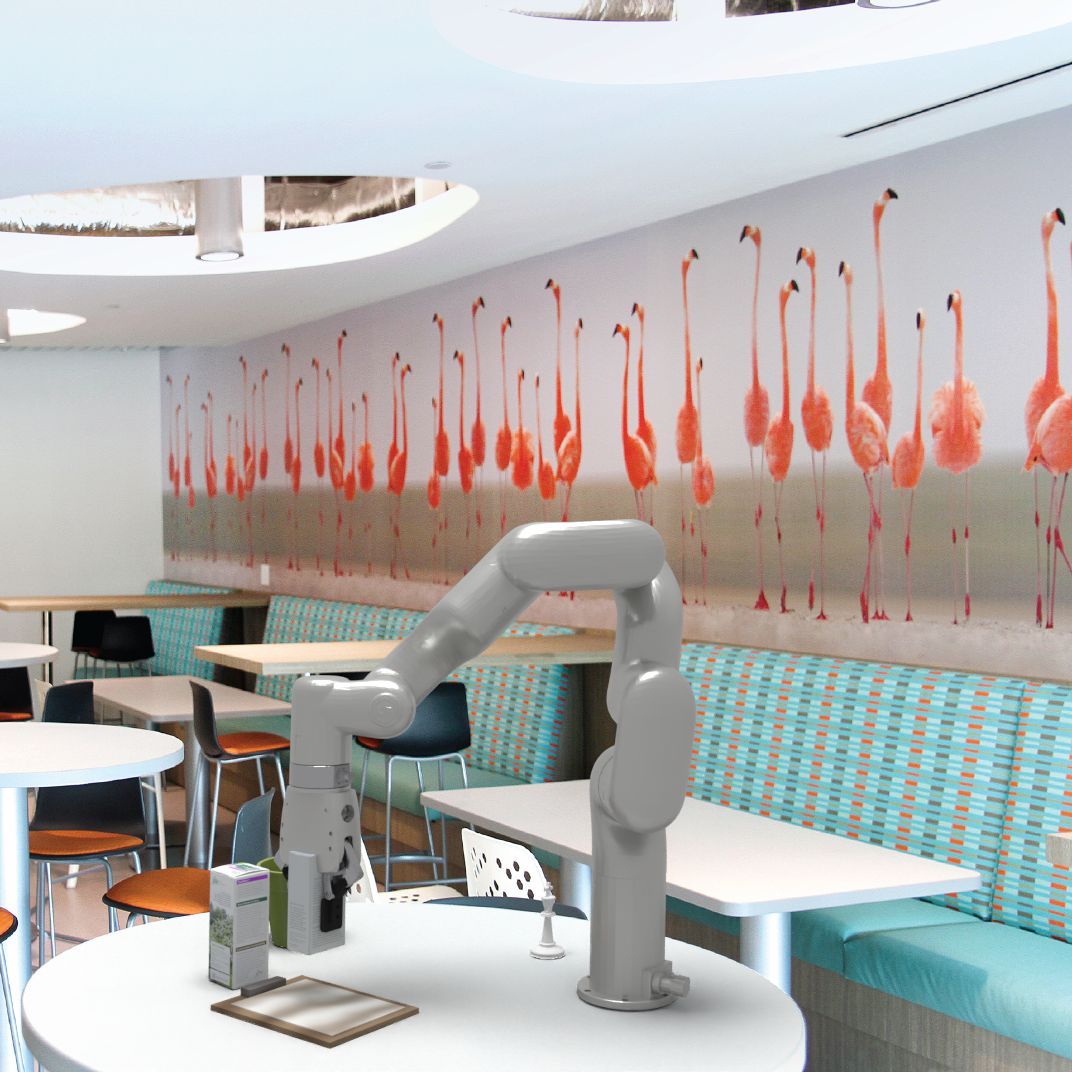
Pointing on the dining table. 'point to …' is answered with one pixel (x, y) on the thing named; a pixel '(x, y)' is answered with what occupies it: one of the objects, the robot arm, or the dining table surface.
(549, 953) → the chess piece
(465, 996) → the dining table surface
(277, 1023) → the clipboard
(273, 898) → the plant pot
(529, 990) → the dining table surface
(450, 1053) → the dining table surface
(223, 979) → the syrup box
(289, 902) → the skincare box
